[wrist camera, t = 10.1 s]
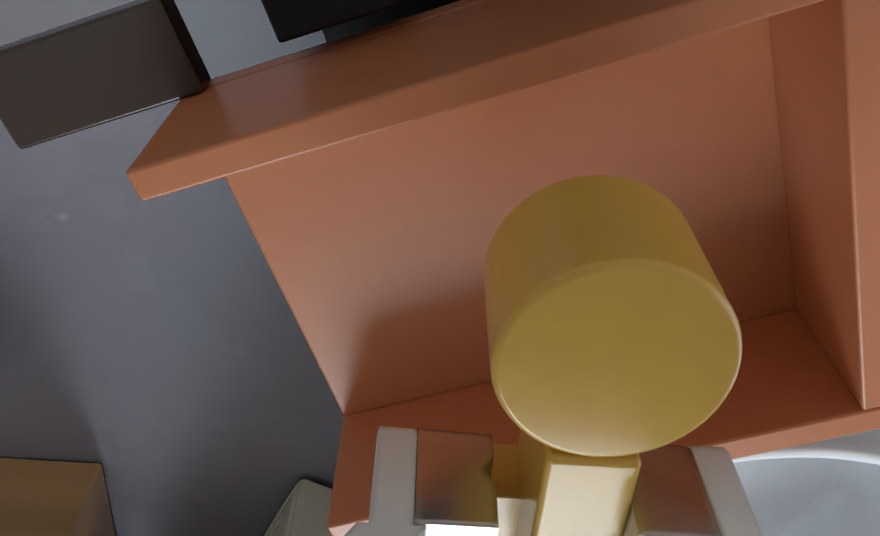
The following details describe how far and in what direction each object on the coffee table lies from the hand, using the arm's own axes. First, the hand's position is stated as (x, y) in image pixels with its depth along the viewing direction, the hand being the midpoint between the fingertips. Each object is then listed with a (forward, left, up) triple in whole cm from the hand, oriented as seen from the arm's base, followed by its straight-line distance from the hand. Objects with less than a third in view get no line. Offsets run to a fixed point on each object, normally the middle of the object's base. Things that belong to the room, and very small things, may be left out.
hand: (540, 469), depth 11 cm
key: (-1, +1, -1) cm, 2 cm away
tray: (-2, -1, -6) cm, 6 cm away
